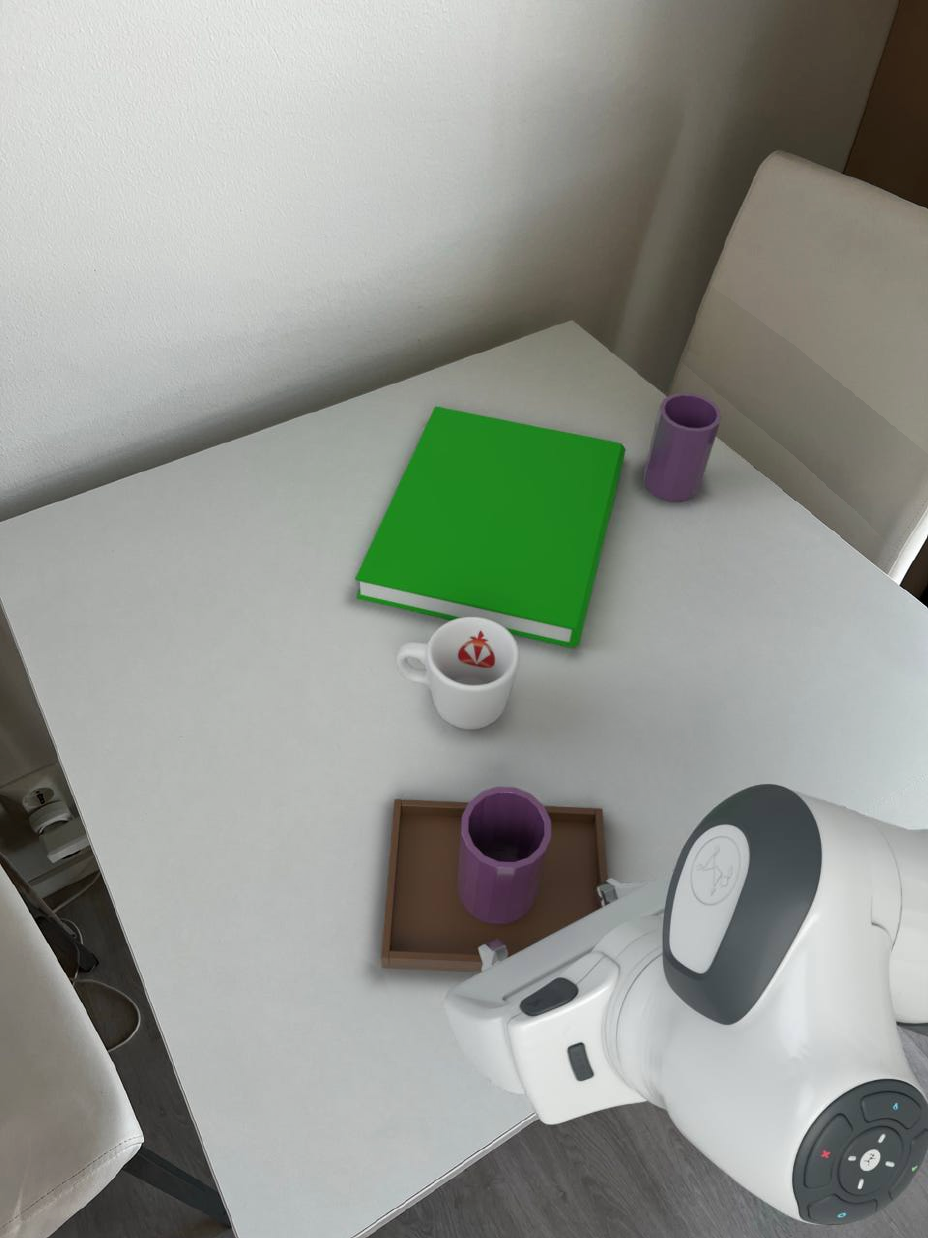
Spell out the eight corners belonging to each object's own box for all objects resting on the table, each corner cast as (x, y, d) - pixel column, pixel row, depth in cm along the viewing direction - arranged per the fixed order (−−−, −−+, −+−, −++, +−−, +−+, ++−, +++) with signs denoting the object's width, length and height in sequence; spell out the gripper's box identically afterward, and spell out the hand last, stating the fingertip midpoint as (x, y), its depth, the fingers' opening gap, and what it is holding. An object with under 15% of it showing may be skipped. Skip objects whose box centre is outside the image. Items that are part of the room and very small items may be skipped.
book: (356, 598, 94) (355, 578, 92) (434, 426, 112) (435, 406, 110) (577, 649, 91) (582, 629, 89) (622, 464, 109) (626, 444, 107)
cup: (385, 723, 85) (383, 670, 79) (409, 655, 90) (409, 600, 84) (502, 750, 84) (509, 698, 78) (520, 680, 89) (528, 625, 83)
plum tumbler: (536, 850, 77) (550, 788, 70) (538, 926, 73) (552, 870, 65) (458, 846, 77) (463, 784, 69) (455, 923, 73) (460, 866, 65)
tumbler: (695, 465, 109) (716, 394, 102) (702, 503, 105) (725, 432, 98) (640, 462, 109) (657, 391, 102) (645, 500, 105) (663, 429, 98)
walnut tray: (598, 819, 80) (602, 808, 78) (609, 978, 71) (614, 968, 70) (394, 810, 80) (394, 798, 78) (381, 968, 71) (380, 958, 70)
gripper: (784, 872, 56) (656, 819, 69) (485, 1040, 50) (404, 946, 63) (810, 966, 57) (679, 896, 70) (520, 1143, 51) (434, 1030, 64)
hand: (548, 921), depth 66 cm, fingers open, 8 cm apart
